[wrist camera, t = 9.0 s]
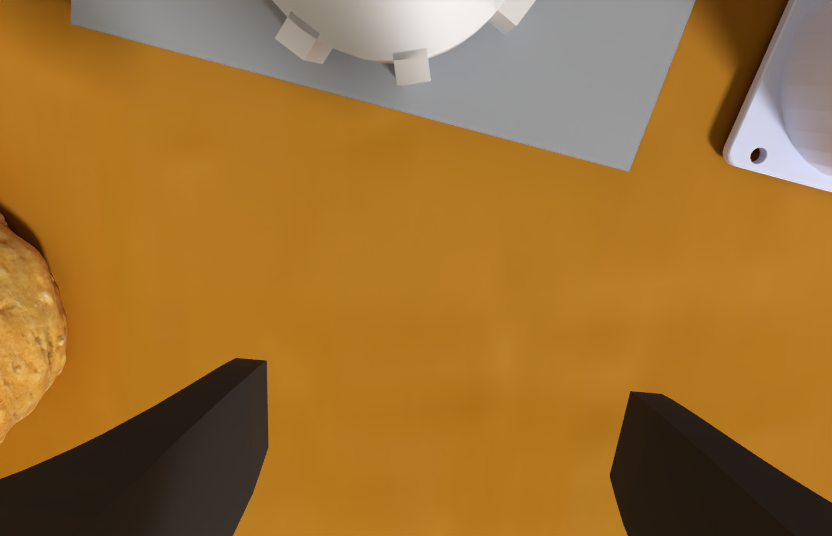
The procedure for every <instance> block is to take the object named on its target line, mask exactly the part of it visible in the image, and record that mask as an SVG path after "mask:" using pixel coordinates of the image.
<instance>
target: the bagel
mask: <svg viewBox="0 0 832 536" xmlns="http://www.w3.org/2000/svg"><path fill="white" fill-rule="evenodd" d="M67 337H68V328H67V318H66V315H65V312H64V310H63V307H62V304H61V300H60V294H59V289H58V288H57V286H56V284H55V283H54V278H53V277H52V275H51V274H50V272H49V270H48V265H47V263H46V261H45V259H44V258H43V257H42V255H41V254H40V252H39V251H38V250H37V249H36V248H35V247H34V246H32V245H31V244H29V243H27V242H26V241H24V240H23V239H22V238H20V237H18V236H17V235H16V234H15V233H13V232H12V231H11V230H10V229H9V227H8V226H7V222H5V218H4V217H3V215H2V214H1V213H0V443H1V442H3V441H4V439H5V437H6V435H7V433H8V431H9V430H10V428H11V427H12V426H13V425H14V424H15V423H17V422H18V421H20V420H21V419H23V418H24V417H26V416H27V415H29V414H30V413H31V412H32V411H33V410H34V408H35V407H36V405H37V404H38V402H39V401H40V399H41V397H42V396H43V394H44V393H45V391H46V390H47V389H48V388H49V387H50V386H51V385H52V383H53V382H54V380H55V378H56V377H57V375H59V374H60V373H61V371H62V368H63V366H64V364H65V361H66V343H67Z"/></svg>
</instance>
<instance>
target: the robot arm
mask: <svg viewBox="0 0 832 536" xmlns="http://www.w3.org/2000/svg"><path fill="white" fill-rule="evenodd" d="M756 148H759V151H760V155H759V157H758V159H757V160H755V161H753V162H751V159H750V156H751V153H752V152H753V150H755V149H756ZM723 158H724V160H725V161H726V162H727V163H728V164H730V165H732V166H736V167H740V168H743V169H747V170H751V171H754V172H758V173H762V174H766V175H769V176H773V177H777V178H781V179H784V180H788V181H792V182H795V183H799V184H803V185H807V186H810V187H814V188H818V189H821V190H825V191H829V192H832V0H789V1H788V4H787V6H786V8H785V10H784V13H783V15H782V17H781V19H780V22H779V24H778V26H777V28H776V31H775V33H774V35H773V37H772V40H771V42H770V44H769V46H768V49H767V51H766V53H765V56H764V58H763V60H762V62H761V65H760V67H759V69H758V71H757V74H756V76H755V78H754V80H753V83H752V85H751V87H750V89H749V92H748V94H747V96H746V98H745V101H744V103H743V105H742V108H741V110H740V112H739V114H738V117H737V119H736V121H735V123H734V126H733V128H732V130H731V132H730V135H729V137H728V139H727V141H726V144H725V146H724V149H723ZM267 449H268V406H267V361H265V360H253V359H241V358H235V359H233V360H231V361H229V362H227V363H226V364H224V365H222V366H220V367H219V368H217V369H215V370H214V371H212V372H210V373H209V374H207V375H205V376H204V377H202V378H200V379H199V380H197V381H196V382H194V383H192V384H191V385H189V386H187V387H186V388H184V389H182V390H181V391H179V392H177V393H176V394H174V395H172V396H170V397H169V398H167V399H165V400H164V401H162V402H160V403H159V404H157V405H155V406H154V407H152V408H150V409H148V410H146V411H144V412H142V413H141V414H139V415H137V416H135V417H133V418H131V419H130V420H128V421H126V422H124V423H122V424H120V425H118V426H117V427H115V428H113V429H111V430H109V431H107V432H106V433H104V434H102V435H100V436H98V437H96V438H94V439H92V440H90V441H88V442H86V443H83V444H81V445H79V446H77V447H75V448H73V449H71V450H69V451H66V452H64V453H62V454H60V455H57V456H55V457H53V458H51V459H48V460H46V461H44V462H42V463H39V464H37V465H35V466H32V467H30V468H28V469H25V470H23V471H20V472H18V473H15V474H12V475H10V476H7V477H4V478H2V479H0V536H233V534H234V532H235V530H236V528H237V526H238V523H239V521H240V519H241V517H242V515H243V513H244V511H245V509H246V507H247V505H248V502H249V500H250V498H251V496H252V494H253V491H254V488H255V485H256V483H257V480H258V477H259V474H260V471H261V468H262V465H263V462H264V459H265V456H266V452H267ZM610 479H611V483H612V486H613V490H614V494H615V498H616V501H617V505H618V508H619V511H620V515H621V518H622V521H623V525H624V527H625V530H626V532H627V534H628V536H832V503H831V502H830V501H828V500H826V499H825V498H823V497H821V496H820V495H818V494H816V493H815V492H813V491H811V490H810V489H808V488H807V487H805V486H803V485H802V484H800V483H798V482H797V481H795V480H794V479H792V478H790V477H789V476H787V475H786V474H784V473H782V472H781V471H779V470H778V469H776V468H775V467H773V466H772V465H770V464H768V463H767V462H765V461H764V460H762V459H761V458H759V457H758V456H756V455H755V454H753V453H752V452H750V451H749V450H747V449H746V448H744V447H743V446H741V445H740V444H738V443H737V442H735V441H734V440H732V439H731V438H729V437H728V436H727V435H725V434H724V433H722V432H721V431H719V430H718V429H716V428H715V427H713V426H712V425H710V424H709V423H707V422H706V421H704V420H703V419H701V418H700V417H698V416H697V415H695V414H694V413H692V412H691V411H689V410H688V409H686V408H685V407H683V406H682V405H680V404H678V403H677V402H675V401H673V400H672V399H670V398H668V397H666V396H664V395H663V394H656V393H644V392H632V391H630V395H629V399H628V403H627V408H626V412H625V416H624V420H623V424H622V428H621V432H620V436H619V440H618V444H617V448H616V452H615V456H614V460H613V464H612V468H611V473H610Z"/></svg>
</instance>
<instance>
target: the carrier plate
mask: <svg viewBox="0 0 832 536" xmlns="http://www.w3.org/2000/svg"><path fill="white" fill-rule="evenodd" d="M694 3H695V0H71V24H73V25H77V26H81V27H84V28H88V29H92V30H96V31H100V32H103V33H107V34H111V35H115V36H118V37H122V38H126V39H130V40H134V41H137V42H141V43H145V44H149V45H152V46H156V47H160V48H164V49H168V50H171V51H175V52H179V53H183V54H186V55H190V56H194V57H198V58H202V59H205V60H209V61H213V62H217V63H220V64H224V65H228V66H232V67H235V68H239V69H243V70H247V71H251V72H254V73H258V74H262V75H266V76H269V77H273V78H277V79H281V80H285V81H288V82H292V83H296V84H300V85H303V86H307V87H311V88H315V89H319V90H322V91H326V92H330V93H334V94H337V95H341V96H345V97H349V98H353V99H356V100H360V101H364V102H368V103H371V104H375V105H379V106H383V107H387V108H390V109H394V110H398V111H402V112H405V113H409V114H413V115H417V116H420V117H424V118H428V119H432V120H436V121H439V122H443V123H447V124H451V125H454V126H458V127H462V128H466V129H470V130H473V131H477V132H481V133H485V134H488V135H492V136H496V137H500V138H504V139H507V140H511V141H515V142H519V143H522V144H526V145H530V146H534V147H538V148H541V149H545V150H549V151H553V152H556V153H560V154H564V155H568V156H572V157H575V158H579V159H583V160H587V161H590V162H594V163H598V164H602V165H605V166H609V167H613V168H617V169H621V170H624V171H628V172H629V170H630V168H631V165H632V162H633V160H634V157H635V155H636V152H637V149H638V147H639V144H640V142H641V139H642V137H643V134H644V131H645V129H646V126H647V124H648V121H649V119H650V116H651V113H652V111H653V108H654V106H655V103H656V101H657V98H658V95H659V93H660V90H661V88H662V85H663V83H664V80H665V77H666V75H667V72H668V70H669V67H670V64H671V62H672V59H673V57H674V54H675V52H676V49H677V46H678V44H679V41H680V39H681V36H682V34H683V31H684V28H685V26H686V23H687V21H688V18H689V16H690V13H691V10H692V8H693V5H694Z"/></svg>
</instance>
